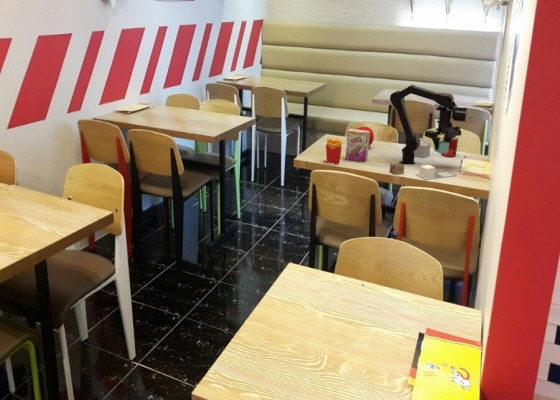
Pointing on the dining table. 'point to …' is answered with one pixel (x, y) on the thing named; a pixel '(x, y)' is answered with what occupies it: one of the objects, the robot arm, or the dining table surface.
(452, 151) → the canned food
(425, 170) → the block
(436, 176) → the slate board
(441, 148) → the teal block
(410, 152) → the robot arm
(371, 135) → the tomato
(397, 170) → the walnut block
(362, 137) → the candy bar box
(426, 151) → the lumpy-topped squat cylinder
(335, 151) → the french fries
